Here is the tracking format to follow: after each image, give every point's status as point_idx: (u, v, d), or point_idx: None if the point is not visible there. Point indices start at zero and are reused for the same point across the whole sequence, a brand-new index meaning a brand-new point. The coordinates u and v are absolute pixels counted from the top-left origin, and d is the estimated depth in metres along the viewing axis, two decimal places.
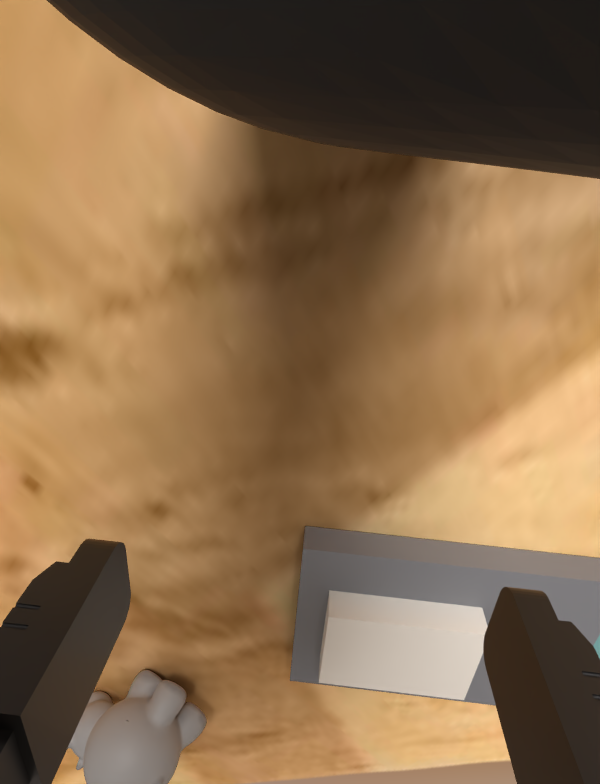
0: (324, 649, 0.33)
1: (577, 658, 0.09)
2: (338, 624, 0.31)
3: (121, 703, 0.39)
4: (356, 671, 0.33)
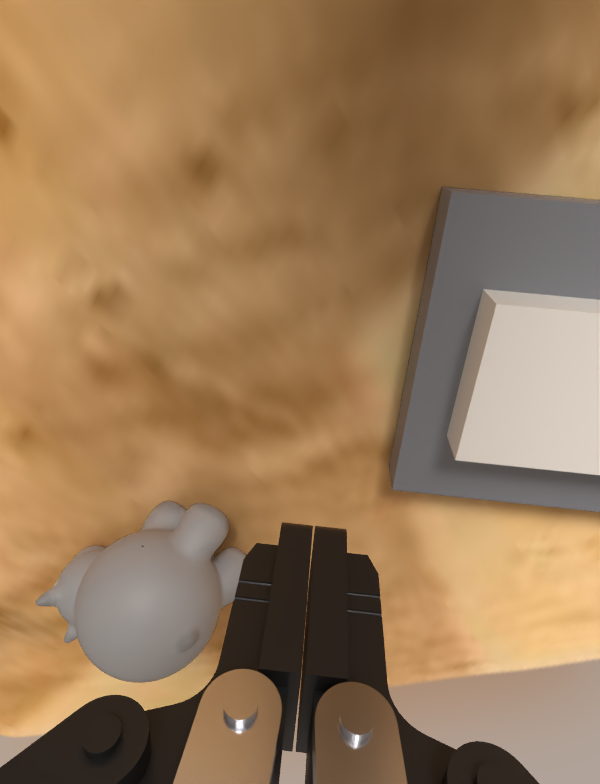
0: (476, 384, 0.20)
1: (359, 583, 0.10)
2: (511, 320, 0.18)
3: (132, 533, 0.26)
4: (522, 431, 0.21)
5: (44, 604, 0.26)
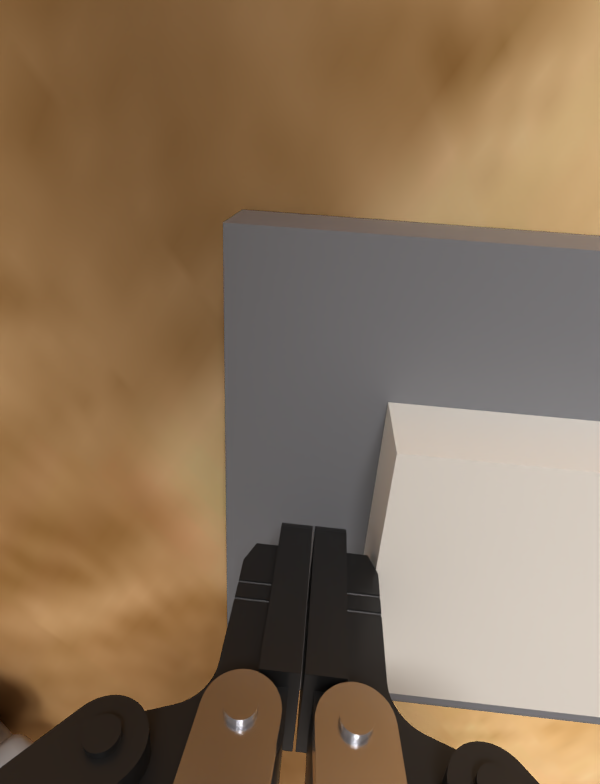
0: None
1: (359, 583, 0.10)
2: (430, 482, 0.09)
3: None
4: (466, 653, 0.11)
5: None
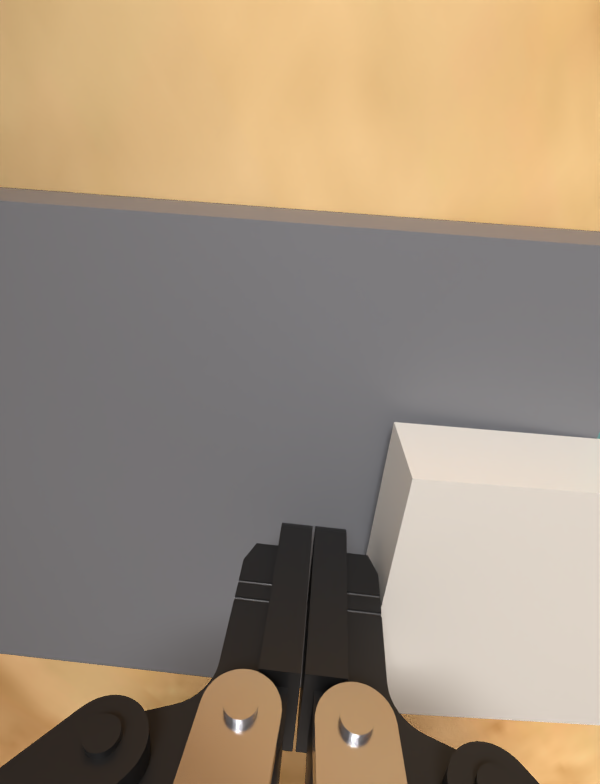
0: (383, 605, 0.10)
1: (359, 583, 0.10)
2: (444, 507, 0.09)
3: None
4: (469, 671, 0.11)
5: None
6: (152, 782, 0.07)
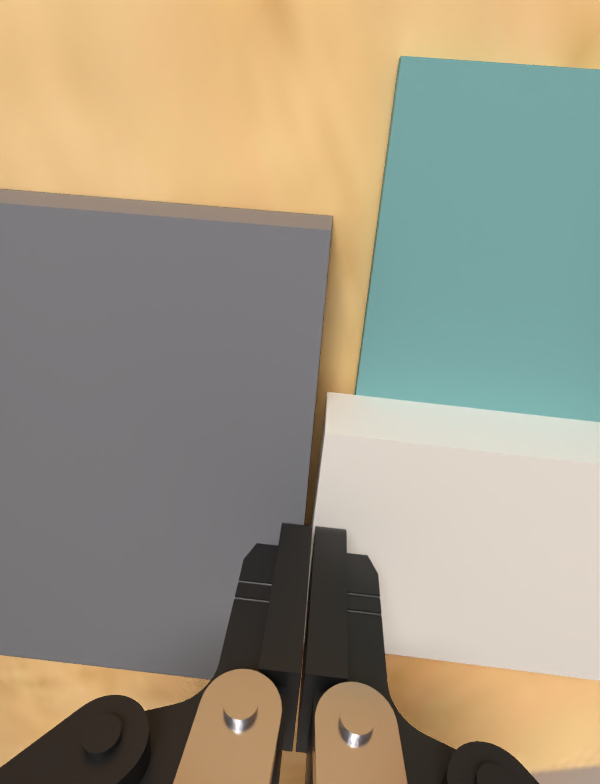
0: (312, 545, 0.12)
1: (359, 583, 0.10)
2: (353, 458, 0.11)
3: None
4: (392, 610, 0.13)
5: None
6: (152, 782, 0.07)
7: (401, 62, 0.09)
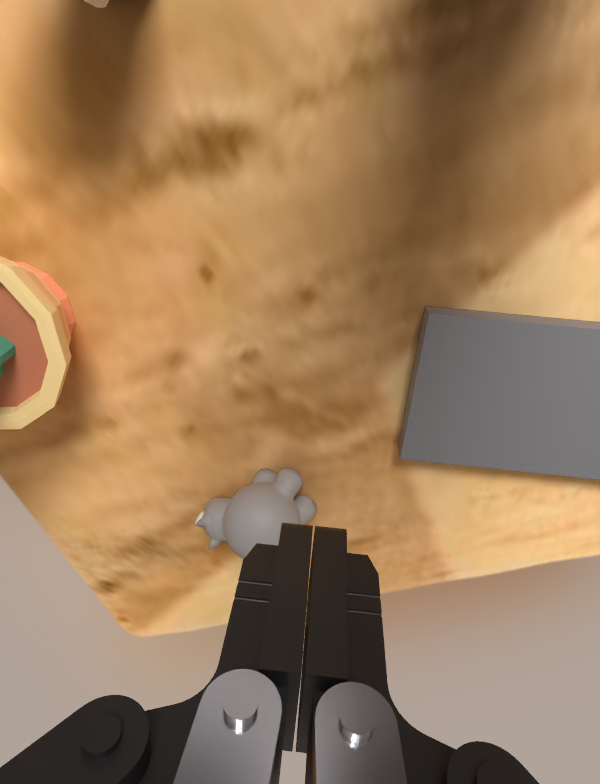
0: None
1: (359, 583, 0.10)
2: None
3: None
4: None
5: (201, 525, 0.47)
6: (152, 782, 0.07)
7: None
